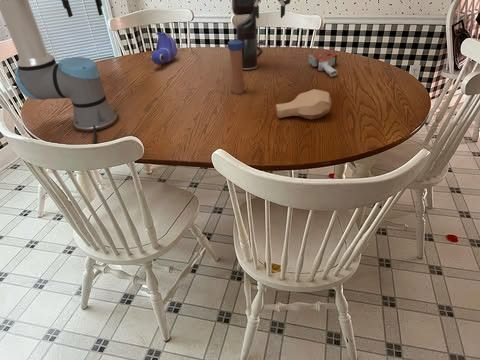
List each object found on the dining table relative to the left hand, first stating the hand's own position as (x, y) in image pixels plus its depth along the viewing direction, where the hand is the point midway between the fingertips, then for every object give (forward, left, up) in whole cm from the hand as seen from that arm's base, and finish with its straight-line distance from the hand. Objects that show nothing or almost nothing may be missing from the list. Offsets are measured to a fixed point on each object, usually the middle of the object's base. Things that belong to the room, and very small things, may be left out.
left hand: (85, 15), depth 157 cm
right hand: (-33, -79, +2) cm, 86 cm away
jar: (-26, -66, -28) cm, 76 cm away
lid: (-26, -66, -8) cm, 72 cm away
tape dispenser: (-3, -106, -28) cm, 110 cm away
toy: (+16, -27, -28) cm, 42 cm away
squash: (-51, -90, -28) cm, 108 cm away
